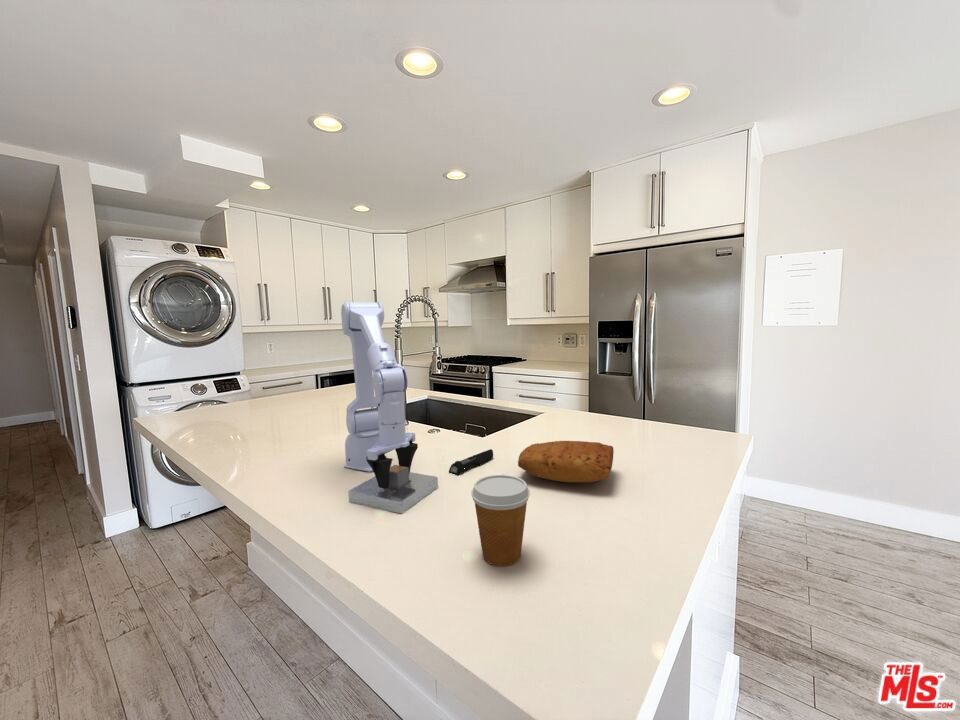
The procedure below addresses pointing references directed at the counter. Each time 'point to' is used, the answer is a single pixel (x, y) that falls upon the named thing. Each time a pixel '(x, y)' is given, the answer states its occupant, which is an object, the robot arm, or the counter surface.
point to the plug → (398, 477)
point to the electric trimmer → (470, 462)
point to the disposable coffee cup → (501, 517)
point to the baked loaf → (568, 461)
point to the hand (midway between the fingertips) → (394, 480)
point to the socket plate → (394, 493)
